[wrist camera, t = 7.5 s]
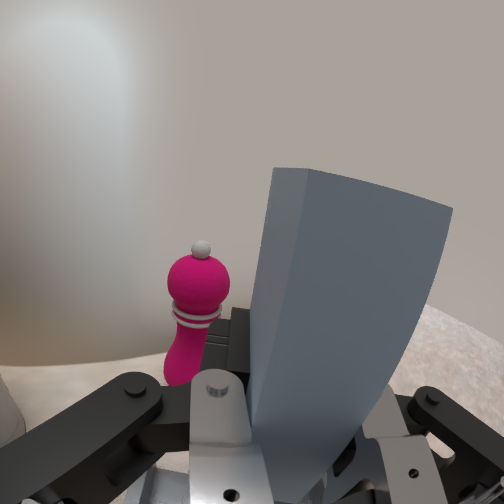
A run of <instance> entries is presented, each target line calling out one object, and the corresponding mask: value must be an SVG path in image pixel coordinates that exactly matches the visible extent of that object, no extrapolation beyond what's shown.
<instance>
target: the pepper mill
mask: <svg viewBox="0 0 504 504" xmlns="http://www.w3.org/2000/svg"><path fill="white" fill-rule="evenodd" d="M191 251H192V255H187V256H184V257H182V258H180V259H179V260H177V261H176V262H175V263H174V264H173V266H172V267H171V269H170V271H169V274H168V281H167V283H168V291H169V293H170V295H171V296H172V298H173V299H174V300H173V302H172V308H173V310H172V316H173V318H174V319H175V320H176V321H177V334H176V338H175V340H174V342H173V344H172V346H171V348H170V350H169V351H168V353H167V355H166V358H165V361H164V377H165V380H166V382H167V383H168V385H169V386H176V385H182V384H185V383H188V382H189V381H191V380H192V379H193V378H194V376H195V375H196V374H198V372H199V368H200V364H201V359H202V355H203V350H204V345H205V341H206V337H207V332H208V328H209V324H211V323H212V322H213V321H214V320H215V319H216V318H220V319H221V311H222V305H221V303H222V302H223V301H224V299H225V298H226V296H227V295H228V293H229V287H230V279H229V275H228V272H227V270H226V268H225V266H224V265H223V264H222V263H221V262H220V261H218V260H217V259H215V258H213V257H211V256H209V254H210V252H211V248H210V245H209V244H208V243H207V242H206V241H204V240H199V241H196V242H195V243H194V244H193V245H192V249H191Z"/></svg>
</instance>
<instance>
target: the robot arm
mask: <svg viewBox="0 0 504 504" xmlns="http://www.w3.org/2000/svg"><path fill="white" fill-rule="evenodd" d="M249 377H250V309H243V308H235V307H233V308H232V312H231V319H230V320H227V319H220V318H216V319H215V320H214V321H213V322H212V323H211V324H209V328H208V332H207V337H206V341H205V345H204V350H203V355H202V359H201V364H200V368H199V372H198V374H196V375H195V376H194V378H193V379H192V380H191V381H189V382H188V383H185V384H182V385H176V386H160V384H159V382H158V381H157V380H156V379H155V378H153V377H152V376H150V375H148V374H145V373H142V372H127V373H124V374H121V375H119V376H117V377H116V378H114V379H113V380H111V381H109V382H108V383H106V384H105V385H103V386H102V387H100V388H99V389H97V390H95V391H94V392H92V393H91V394H89V395H88V396H86V397H84V398H83V399H81V400H80V401H78V402H76V403H75V404H73V405H72V406H70V407H68V408H67V409H65V410H64V411H62V412H60V413H59V414H57V415H55V416H54V417H52V418H51V419H49V420H47V421H46V422H44V423H42V424H41V425H39V426H37V427H36V428H34V429H32V430H30V431H29V432H27V433H25V423H24V419H23V417H22V414H21V413H20V411H19V409H18V407H17V406H16V404H15V402H14V401H13V399H12V397H11V395H10V393H9V391H8V389H7V387H6V385H5V383H4V381H3V379H2V377H1V375H0V504H109V503H110V502H112V501H113V500H114V499H115V498H116V497H118V496H119V495H120V494H121V493H122V492H123V491H125V490H126V489H127V488H128V487H129V486H130V485H131V484H133V483H134V482H135V481H136V480H137V479H138V478H139V477H140V476H142V475H143V474H144V473H145V472H146V471H147V470H148V469H149V468H150V467H151V466H152V465H153V464H155V463H156V462H157V461H158V460H159V459H160V458H161V457H162V456H163V455H164V454H165V453H166V452H179V451H189V475H190V504H292V503H286V502H280V501H273V497H272V493H271V489H270V484H269V480H268V476H267V471H266V466H265V462H264V457H263V453H262V450H261V447H260V445H259V444H255V443H254V441H253V438H252V433H251V427H250V422H249V416H248V411H247V405H246V399H245V396H246V391H247V387H248V382H249ZM429 432H431V433H432V434H433V435H435V436H436V437H437V438H438V439H440V440H441V441H442V442H443V443H445V444H446V445H447V446H448V447H450V448H451V449H452V450H453V451H454V452H455V454H454V455H453V456H452V457H450V458H442V457H440V456H439V455H438V454H437V453H436V452H434V451H433V450H432V449H431V448H430V447H429V444H428V441H427V439H426V438H425V437H426V436H427V435H428V433H429ZM322 504H504V437H502V436H501V435H500V434H498V433H497V432H496V431H494V430H493V429H492V428H490V427H489V426H488V425H486V424H485V423H483V422H482V421H481V420H479V419H478V418H477V417H475V416H474V415H473V414H471V413H470V412H469V411H467V410H466V409H464V408H463V407H462V406H460V405H459V404H458V403H456V402H455V401H454V400H452V399H451V398H449V397H448V396H447V395H445V394H444V393H443V392H441V391H440V390H438V389H436V388H434V387H430V386H423V387H420V388H419V389H417V391H416V392H415V394H414V395H413V397H409V396H403V395H396V394H394V392H393V390H392V388H391V387H390V385H389V384H387V385H386V387H385V389H384V390H383V392H382V394H381V396H380V397H379V399H378V401H377V402H376V404H375V405H374V407H373V409H372V410H371V412H370V413H369V415H368V416H367V418H366V419H365V421H364V422H363V424H361V426H360V427H359V428H358V430H357V431H356V433H355V434H354V437H353V438H352V440H351V441H350V442H349V444H348V445H347V446H346V448H345V449H344V450H343V452H342V453H341V454H340V456H339V457H338V458H337V459H336V461H335V462H334V463H332V465H331V466H330V467H329V468H328V469H327V486H326V489H325V491H324V494H323V498H322Z"/></svg>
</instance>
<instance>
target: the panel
mask: <svg viewBox="0 0 504 504" xmlns="http://www.w3.org/2000/svg"><path fill="white" fill-rule="evenodd" d="M452 211H453V208H451V207H448V206H445V205H442V204H440V203H437V202H434V201H430V200H428V199H425V198H421V197H418V196H415V195H412V194H409V193H405V192H402V191H398V190H395V189H391V188H388V187H384V186H380V185H377V184H373V183H369V182H365V181H361V180H357V179H353V178H349V177H345V176H341V175H336V174H332V173H326V172H322V171H317V170H313V169H304V168H273V173H272V180H271V186H270V192H269V198H268V204H267V211H266V217H265V223H264V230H263V235H262V241H261V247H260V254H259V260H258V266H257V271H256V277H255V283H254V289H253V295H252V301H251V307H250V377H249V382H248V387H247V391H246V396H245V399H246V405H247V411H248V416H249V422H250V427H251V433H252V438H253V441H254V443H255V444H259V445H260V447H261V450H262V453H263V457H264V462H265V466H266V471H267V476H268V480H269V484H270V489H271V493H272V497H273V501H280V502H286V503H292V504H297V503H298V502H299V501H300V500H301V499H302V498H303V497H304V496H305V495H306V494H307V493H308V492H309V491H310V490H311V488H312V487H313V486H314V485H315V484H316V483H317V482H318V481H319V480H320V478H321V477H322V476H323V475H324V474H325V473H326V472H327V469H328V468H329V467H330V466H331V465H332V463H334V462H335V461H336V459H337V458H338V457H339V456H340V454H341V453H342V452H343V450H344V449H345V448H346V446H347V445H348V444H349V442H350V441H351V440H352V438H353V437H354V434H355V433H356V431H357V430H358V428H359V427H360V426H361V424H363V422H364V421H365V419H366V418H367V416H368V415H369V413H370V412H371V410H372V409H373V407H374V405H375V404H376V402H377V401H378V399H379V397H380V396H381V394H382V392H383V390H384V389H385V387H386V385H387V384H388V382H389V380H390V378H391V376H392V374H393V373H394V371H395V369H396V367H397V365H398V363H399V361H400V359H401V357H402V355H403V353H404V351H405V349H406V347H407V345H408V343H409V341H410V338H411V336H412V334H413V332H414V330H415V327H416V325H417V323H418V320H419V318H420V315H421V313H422V310H423V308H424V305H425V303H426V300H427V297H428V295H429V292H430V289H431V286H432V284H433V281H434V278H435V275H436V272H437V268H438V265H439V262H440V259H441V255H442V252H443V248H444V245H445V241H446V237H447V233H448V229H449V224H450V221H451V216H452Z"/></svg>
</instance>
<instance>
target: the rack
mask: <svg viewBox="0 0 504 504" xmlns="http://www.w3.org/2000/svg"><path fill="white" fill-rule="evenodd" d="M326 486H327V472H326V473H325V474H324V475H323V476H322V477H321V478H320V480H319V481H318V482H317V483H316V484H315V485H314V486H313V487H312V488H311V490H310V491H309V492H308V493H307V494H306V495H305V496H304V497H303V498H302V499H301V500H300V501H299V502H298V503H297V504H322V498H323V494H324V491H325V489H326ZM124 504H190V475H189V474H185V473H179V472H174V471H169V470H164V469H160V468H157V466H156V463H155V464H153V465H152V466H151V467H150V468H149V469H148V470H147V471H146V472H145V473H144V474H143V475H142V476H140V477H139V478H138V479H137V480H136V481H135V482H134V483H133V484H131V485H130V486H129V487H128V490H127V494H126V497H125V501H124Z"/></svg>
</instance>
